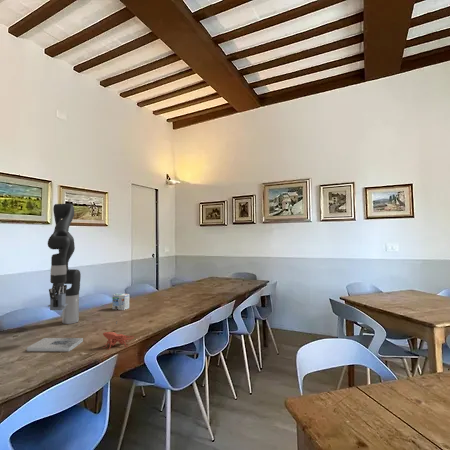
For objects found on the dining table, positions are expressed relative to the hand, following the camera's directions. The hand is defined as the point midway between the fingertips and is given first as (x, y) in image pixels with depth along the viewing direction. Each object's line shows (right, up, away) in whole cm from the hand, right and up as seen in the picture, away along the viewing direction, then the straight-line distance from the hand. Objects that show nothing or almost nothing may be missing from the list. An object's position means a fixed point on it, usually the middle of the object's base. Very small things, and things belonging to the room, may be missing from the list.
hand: (57, 305), depth 166 cm
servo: (0, -2, 0) cm, 2 cm away
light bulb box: (+10, -20, +70) cm, 73 cm away
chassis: (+6, -17, -12) cm, 22 cm away
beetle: (+36, -17, -10) cm, 41 cm away
